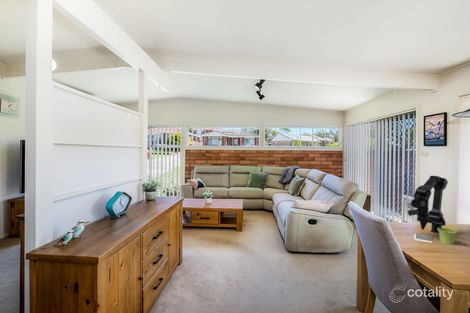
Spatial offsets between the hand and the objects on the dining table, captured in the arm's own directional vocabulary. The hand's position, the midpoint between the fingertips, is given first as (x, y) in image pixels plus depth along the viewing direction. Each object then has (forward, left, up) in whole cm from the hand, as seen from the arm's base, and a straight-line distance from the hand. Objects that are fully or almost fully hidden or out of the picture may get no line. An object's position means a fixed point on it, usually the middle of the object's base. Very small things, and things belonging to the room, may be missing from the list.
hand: (422, 229), depth 162 cm
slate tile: (-1, 0, -4) cm, 4 cm away
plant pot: (+4, +12, -6) cm, 14 cm away
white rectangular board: (+3, 0, -6) cm, 6 cm away
